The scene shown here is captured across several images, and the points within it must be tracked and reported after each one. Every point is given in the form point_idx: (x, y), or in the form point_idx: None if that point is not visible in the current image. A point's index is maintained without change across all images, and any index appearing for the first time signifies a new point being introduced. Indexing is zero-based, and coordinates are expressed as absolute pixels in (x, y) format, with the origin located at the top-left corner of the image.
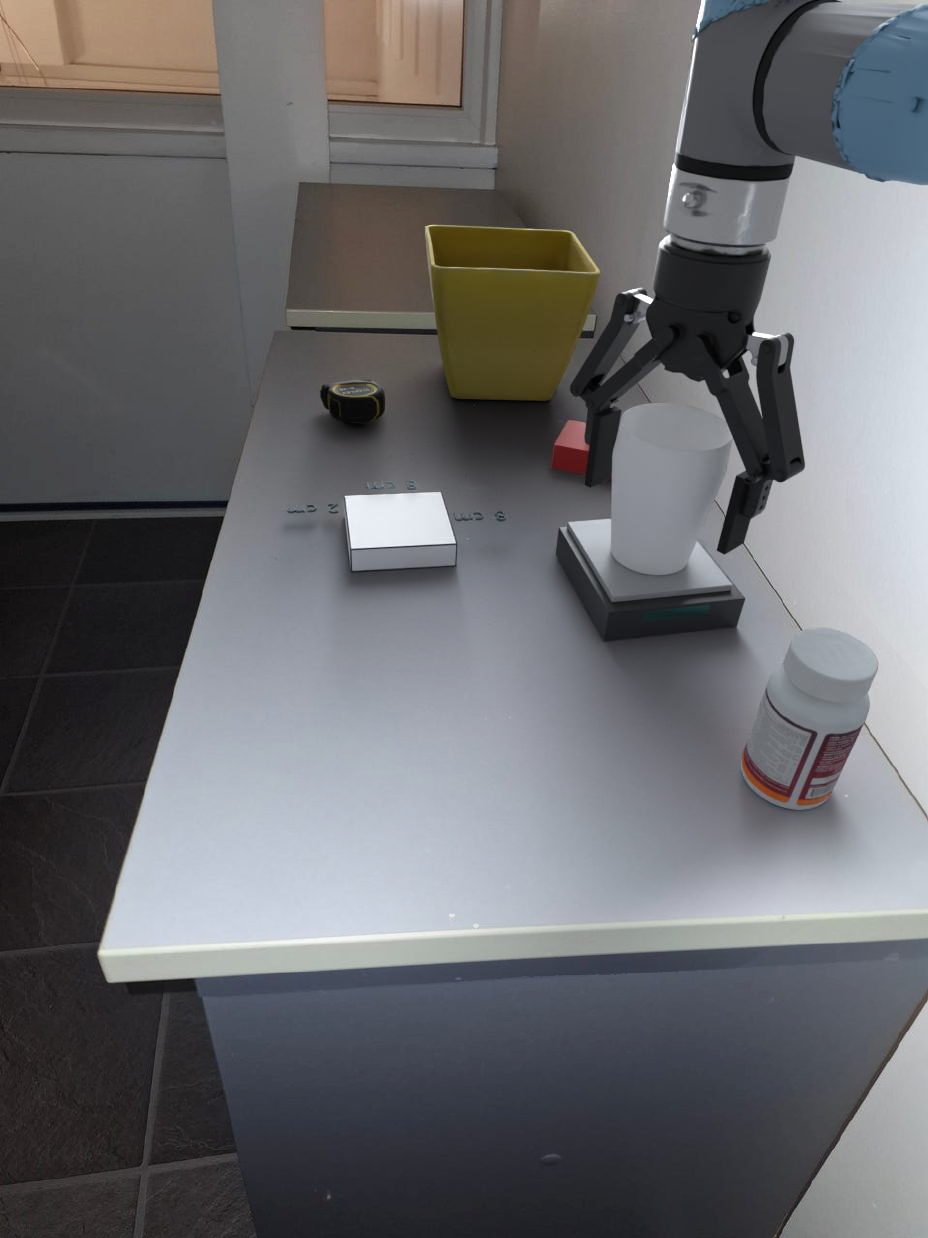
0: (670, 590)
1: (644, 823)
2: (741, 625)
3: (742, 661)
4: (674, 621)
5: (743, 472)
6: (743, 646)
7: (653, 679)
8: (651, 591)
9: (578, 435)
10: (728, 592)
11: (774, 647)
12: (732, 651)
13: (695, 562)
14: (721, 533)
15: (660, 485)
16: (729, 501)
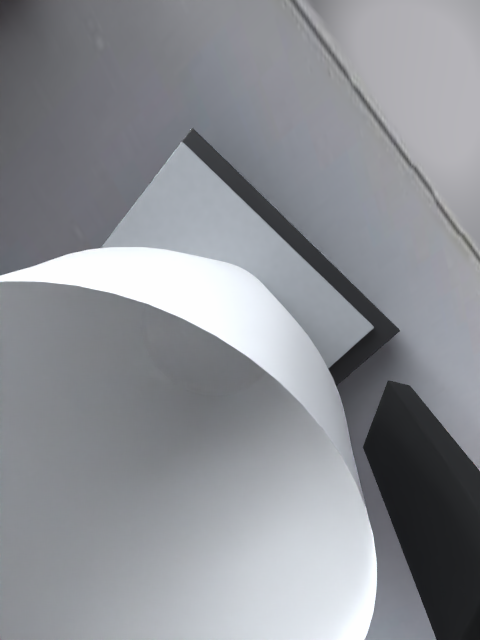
0: None
1: (383, 632)
2: (386, 305)
3: (409, 383)
4: None
5: (468, 629)
6: (402, 351)
7: None
8: None
9: None
10: (368, 333)
11: (445, 327)
12: (390, 370)
13: (291, 301)
14: (375, 476)
15: (202, 593)
16: (405, 557)
